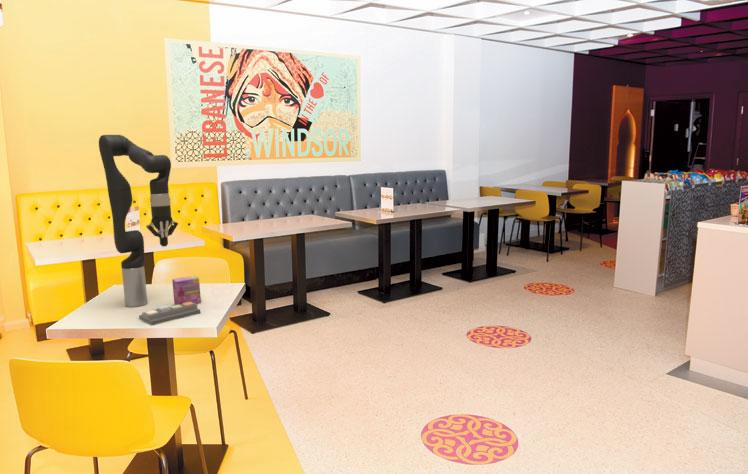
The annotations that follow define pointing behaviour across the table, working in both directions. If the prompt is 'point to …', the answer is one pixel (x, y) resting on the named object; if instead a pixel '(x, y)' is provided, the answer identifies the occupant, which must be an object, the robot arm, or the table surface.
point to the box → (186, 290)
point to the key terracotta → (187, 304)
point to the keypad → (169, 314)
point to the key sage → (176, 307)
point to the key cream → (151, 312)
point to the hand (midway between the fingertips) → (164, 246)
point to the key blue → (163, 308)
